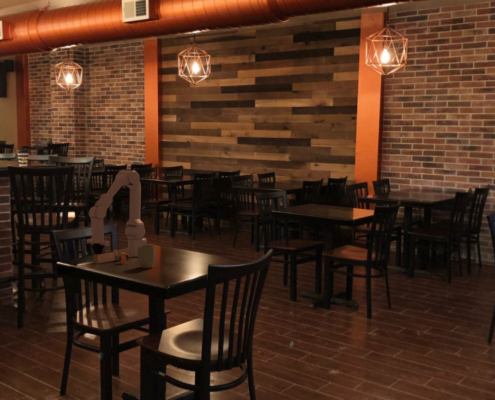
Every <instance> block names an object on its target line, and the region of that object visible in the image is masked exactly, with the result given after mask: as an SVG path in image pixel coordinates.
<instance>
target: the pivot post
mask: <svg viewBox="0 0 495 400" xmlns="http://www.w3.org/2000/svg"><path fill="white" fill-rule="evenodd" d="M112 252H114V255H115V260H114V261H120V256H119V253H120V252H119V249H113V251H112Z"/></svg>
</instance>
